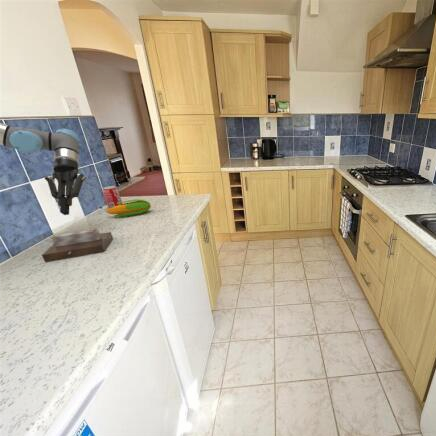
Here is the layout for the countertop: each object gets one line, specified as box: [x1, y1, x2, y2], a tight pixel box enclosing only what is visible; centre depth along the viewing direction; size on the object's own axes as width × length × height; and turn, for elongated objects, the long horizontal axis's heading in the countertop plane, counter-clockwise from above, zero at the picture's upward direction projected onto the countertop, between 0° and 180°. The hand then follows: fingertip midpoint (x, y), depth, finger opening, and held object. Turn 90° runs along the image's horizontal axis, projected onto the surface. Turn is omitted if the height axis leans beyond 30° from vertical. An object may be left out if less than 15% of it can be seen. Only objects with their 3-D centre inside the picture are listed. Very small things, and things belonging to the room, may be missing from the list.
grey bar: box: [50, 228, 101, 247], centre depth 93 cm, size 14×2×4 cm, turn 111°
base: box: [41, 231, 114, 263], centre depth 94 cm, size 18×18×3 cm
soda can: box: [102, 185, 123, 209], centre depth 135 cm, size 7×7×12 cm
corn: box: [105, 199, 151, 218], centre depth 126 cm, size 7×8×20 cm
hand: (64, 213), depth 94 cm, fingers closed
